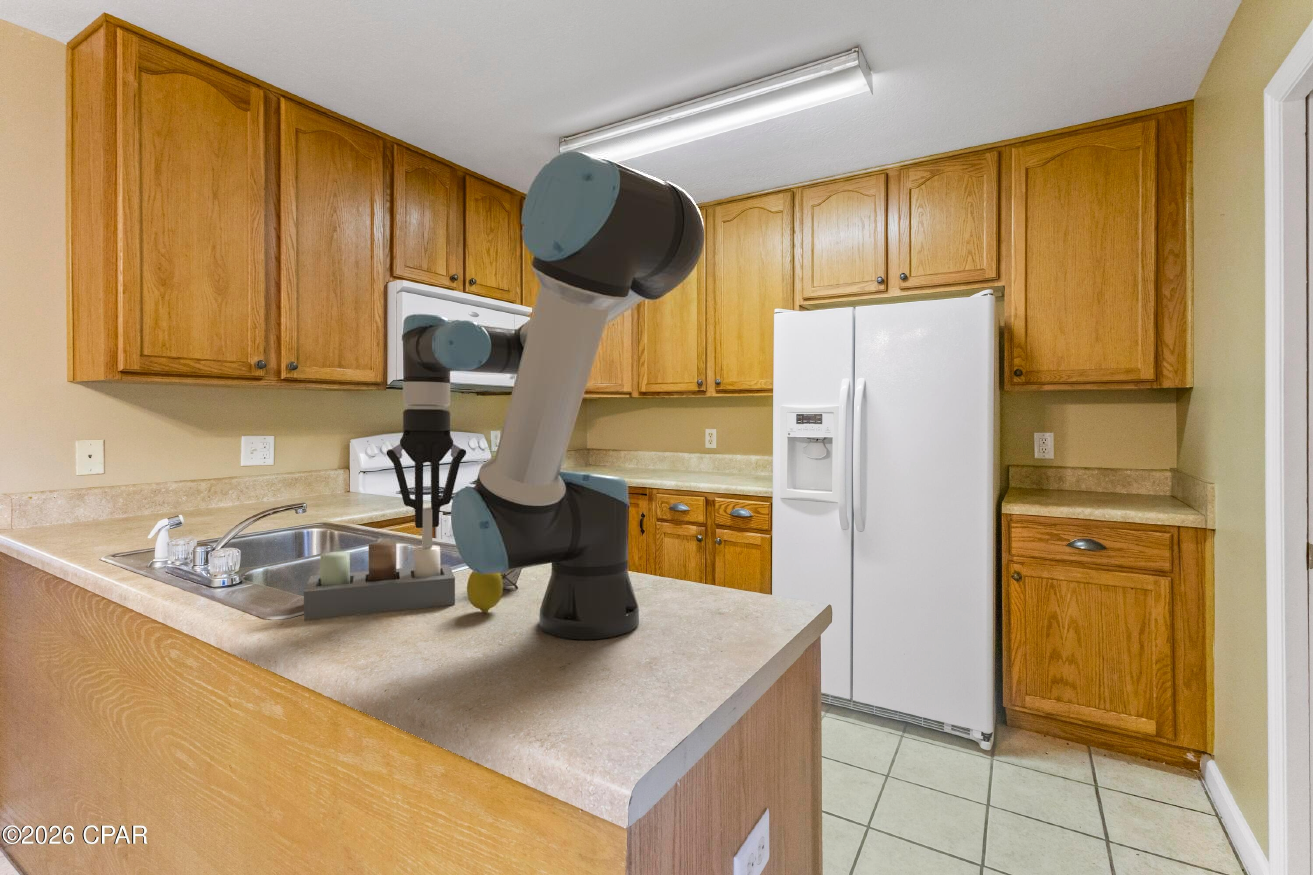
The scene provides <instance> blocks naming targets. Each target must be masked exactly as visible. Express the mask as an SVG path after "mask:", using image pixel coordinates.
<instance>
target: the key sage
mask: <svg viewBox="0 0 1313 875" xmlns="http://www.w3.org/2000/svg"><path fill="white" fill-rule="evenodd" d="M350 555H351V554H350V552H348V551H332V552H331V551H330V552H325V553H322V554H320V575H321V586H329V585H340V584H350V572H351V561H350V560H351V556H350Z"/></svg>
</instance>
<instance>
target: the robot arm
mask: <svg viewBox="0 0 1313 875" xmlns="http://www.w3.org/2000/svg"><path fill="white" fill-rule="evenodd" d="M520 223H521V225H522V226H523V228H522V230H521V236H522V240H523V243H524V246H525V248H526V249H527V251H528V252H529V253H530V254H532V255H533V259H532V262H531V266H530V267H531V269H532V272H533V274H534V275H535V276H536V278H537V281H538V283H539V289H538V292H537V296H536V300H535V304H534V308H533V312H532V315H531V318H530V319H528V320H527V321H526V322H525V323H523V324H522V325H521V326H520V327H518V328H515V329H513V328H505V327H504V328H503V327H495V326H487V325H486V326H485V325H480V324H478V323H477V322H475V321H473V320H459V319H457V320H452V321H450V320H449V319H448V318H447V317H446V316H442V315H437V314H427V313H425V314H424V313H419V314H409V315H407V316H405V318H404V320H403V326H402V334H401V341H402V377H403V378H402V405H403V406H404V407H406V409H404V411H402V436H401V438H400V440H399V443H398V444H397V445H396V446H394V447H392V448H389V449H387V450H386V455H387V457H388V458H389V460H390V461H391V463H392V464H393V468H394V471H395V472H394V473H395V475H396V478H397V483H398V486H399V489H400V494H401V497H402V501H403V504H404V506H406V507H410V508H413V510H414V526H415V528H416V529H421V546H422V547H423V548H432V545H433V528H438V527H439V525H440V508H442V507H443V506H446V505H449V504H450V503H451V508H450V523H451V529H452V535H453V538H454V542H455V543H454V544H455V545H456V549H457V551H458V553H459V555H460V558H461V559H462V560H463V562H464V564H465V565H466V566H467V568H469V569H470V571H472V572H473V571H474V572H476V573H479V574H491V573H505V572H507V571H511V570H516V569H522V568H523V569H526V568H530V567H535V566H542V565H547V564H551V574H550V577H549V581H548V583H547V587H546V590H545V592H544V595H543V599H542V602H541V605H540V608H539V627H540V629H541V630H542V631H544V632H545V633H547V634H549V635H552V636H555V637H558V638H563V639H571V640H600V639H607V638H614V637H619V636H622V635H624V634H625V635H626V634H627V633H630V632H631V631H633V630H634V629H635V630H636V628H637V627H638V626H639V623H640V608H639V604H638V603H639V602H638V601H637V598H636V595H635V594H636V593H635V591H634V587H633V585H632V581H631V579H630V578H631V577H630V574H629V527H630V526H629V523H630V521H629V520H630V507H631V505H630V501H629V486H628V483H627V481H626V480H625V479H624V478H622V477H620V476H615V475H614V476H613V475H608V474H607V475H606V474H601V473H600V474H599V473H589V472H579V471H571V470H570V471H569V470H561V469H562V467H563V463H564V460H565V456H566V453H567V451H568V448H569V443H570V440H571V437H572V434H573V431H574V426H575V424H576V422H577V421H576V420H577V418H578V414H579V411H580V407H581V404H582V401H583V398H584V395H585V391H586V388H587V385H588V382H589V378H590V375H591V372H592V368H593V365H594V363H595V359H596V356H597V354H598V353H597V352H598V350H599V347H600V343H601V340H602V337H603V333H604V329H605V327H606V325H608V324H609V323H611V322H612V321H615V320H616V319H617V318H618V317H620V316H622V315H623V314H625V313H626V312H628V311H629V310H631V309H632V308H633V307H635V306H637V305H639V303H642V301H644V300H645V301H657V300H659V299H660V298H662V297H664V296H666V295H667V294H668V293H670V292H671V291H673V290H674V289H677V287H679V285H681V284H682V283H683V282H684V281H686V279H687V278H688V277H689V276H690V275H691V273H692V272H693V271H694V270H695V268H696V266H697V264H698V262H699V260H700V259H701V255H702V253H703V249H704V248H703V247H704V244H705V228H704V227H705V226H704V220H703V218H702V214H701V211H700V209H699V207H698V206H697V205H696V203H695V200H693V198H692V197H691V196H690V194H688V193H687V192H686V191H685V190H684V189H682V188H681V187H680V186H678V185H676V184H674V183H672V182H670V181H667V180H664V179H658V178H657V177H654V176H651V175H648V174H646V173H643V172H641V171H638V170H636V169H632V168H630V167H627V166H626V165H625V166H624V165H623V164H620V163H617V162H615V161H612V160H610V159H609V158H607V157H601V156H598V155H597V156H596V155H594V154H589V153H586V152H583V151H574V150H573V151H566V152H562V153H560V154H557V155H556V156H554V157H553V158H552V159H551V160H550V161H549V162H548V163H546V164H544V166H543V167H542V168H541V169H540V170H539V171H538V173H537V174H536V176H535V177H534V179H533V181H532V183H531V184H530V186H529V189H528V191H527V194H526V196H525V200H524V203H523V207H522V212H521V220H520ZM451 372H466V373H467V372H470V373H487V374H502V375H503V374H506V375H516V377H515V381H514V384H513V388H512V391H511V396H510V399H509V401H508V402H509V403H508V406H507V411H506V414H505V418H504V422H503V427H502V428H501V429H502V430H501V434H500V437H499V442H498V445H497V449H496V452H495V456H494V457H493V458H492V459H489V460H487V461H485V462H484V463H482V464H481V466H480V468H479V470H478V471H479V472H478V474H477V478H476V482H475V484H474V486H468V485H467V486H465V487H463V488H460V489H459V490H458V491H456V493H454V495H453V492H454V488H455V486H456V485H455V484H456V481H457V476H458V472H459V469H460V465H461V462H462V461H463V459H464V457H465V456H466V455H467V451H466V449H464V448H461V447H460V446H458V445H456V444H455V443H454V439H453V437H452V434H451V411H450V410H448V407H450V406H451ZM402 451H404V452H405V453H406V454H407V456H408V457H409V458H410V459H411V461H412V462H414V498H411V495H410V491H409V487H408V483H407V480H406V476H405V472H404V467H403V465H402V462H401V459H402V458H403V452H402ZM449 451H450V456H451V457H452V459H451V461H450V465H449V468H448V473H447V476H446V480H445V484H444V489H443V492H442V497H440V462H441V461H442V460H443V459H444V458H445V456H446V455H447V454H448V453H449ZM425 463H426V464H427V463H429V465H430V507H429V506H428V507H426V506H425V507H424V464H425ZM452 496H453V498H452ZM451 500H452V501H451ZM523 569H522V570H523Z"/></svg>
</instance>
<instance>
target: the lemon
mask: <svg viewBox="0 0 1313 875" xmlns="http://www.w3.org/2000/svg"><path fill="white" fill-rule="evenodd" d="M503 589H504V587H503V583H502V578H501V575H500V573H491V574H479V573H476V572H474V571H473V570H472V571H471V573H470V574H469V577H468V580H467V585H466V592H467V598H468V601H469V602H470V604H471V606H473V607H474V608H476V609H479V610H480V611H481V612H482V613H483V614H484V613H488V611H489V610H490V609H492V608H494V607H495V606H496V605H498V603H499V602H500V601H501V598H502V595H503V591H504V590H503Z"/></svg>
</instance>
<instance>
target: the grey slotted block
mask: <svg viewBox="0 0 1313 875" xmlns="http://www.w3.org/2000/svg"><path fill="white" fill-rule="evenodd" d="M454 605H456V578H455V575H454V572H453V571H452V568H451V566H450V564H449V563H447V564H440V576H430V577H419V578H414V566H412V567H402V568H401V567H400V568H396V580H385V581H374V582H369V570H365V571H352V572H351V571H350V584H340V585H329V586H321V574H316V575H310V577H309V579H308V580H307V584H306V586H305V588H304V590H303V621H304V622H305V621H315V620H316V621H317V620H324V619H333V618H343V617H345V618H346V617H352V616H361V615H362V616H363V615H372V614H379V613H380V614H381V613H388V612H389V613H390V612H399V611H409V610H416V609H417V610H418V609H419V610H420V609H428V608H436V607H437V608H438V607H445V606H454Z"/></svg>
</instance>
